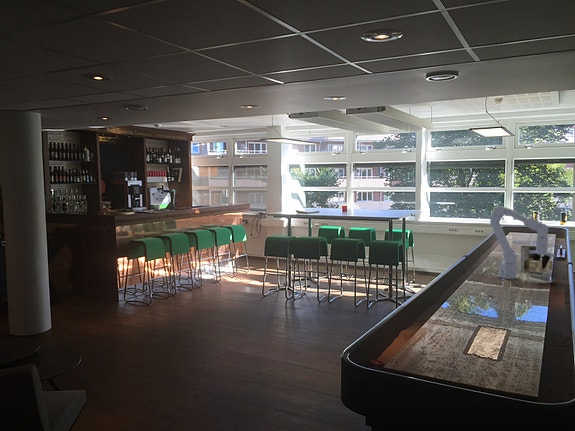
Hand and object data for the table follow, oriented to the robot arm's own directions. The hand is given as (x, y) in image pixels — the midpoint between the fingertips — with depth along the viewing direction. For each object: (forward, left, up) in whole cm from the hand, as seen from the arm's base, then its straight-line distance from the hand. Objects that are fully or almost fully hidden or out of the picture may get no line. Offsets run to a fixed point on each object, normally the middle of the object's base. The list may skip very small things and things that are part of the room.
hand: (540, 267), depth 267 cm
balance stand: (0, 0, -8) cm, 8 cm away
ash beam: (0, 0, -2) cm, 2 cm away
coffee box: (+19, +28, -8) cm, 35 cm away
